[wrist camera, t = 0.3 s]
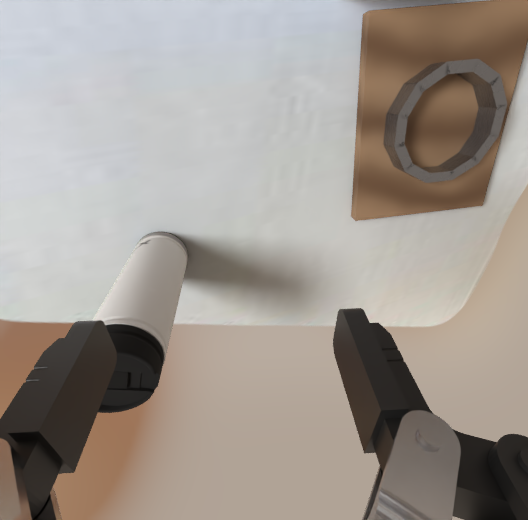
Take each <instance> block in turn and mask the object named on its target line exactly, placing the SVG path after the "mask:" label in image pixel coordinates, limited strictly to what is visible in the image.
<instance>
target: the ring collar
mask: <svg viewBox="0 0 528 520" xmlns="http://www.w3.org/2000/svg"><path fill="white" fill-rule="evenodd" d="M455 73H456V74H457V75H458V76H460V77H461V78H463V79H464V80H466V81H467V82H469V83H470V84H471V85H473V89H474V93H475V96H476V100H477V103H478V112H477V116H476V120H475V125H474V129H473V132H472V134H471V135H470V136H469V138H468V139H467V141H466V142H465V144H464V145H463V146H462V148H461V149H460V151H459V152H458V153H457V154H455V155H454V156H452V157H451V158H449V159H448V160H446V161H445V162H443V163H442V164H440V165H439V166H432V167H424V168H420V167H418V166H416V165H414V164H413V163H412V161H411V158H410V156H409V153H408V151H407V149H406V146H405V144H404V143H405V135H406V128H407V120H408V116H409V115H410V113H411V111H412V110H413V108H414V106H415V105H416V103H417V101H418V100H419V98H420V96H421V95H422V93H423V92H424V91H425V90H426V89H428V88H429V87H431V86H432V85H433V84H435V83H436V82H438V81H439V80H440V79H442V78H443V77H445V76H446V75H447V74H455ZM506 107H507V100H506V96H505V91H504V87H503V83H502V79H501V75H500V74H499V73H497V72H496V71H495V70H493V69H492V68H491V67H489V66H488V65H487V64H485V63H484V62H482V61H481V60H480V59H469V60H459V61H448V62H441V63H433V64H430V65H429V66H427V67H426V68H425V69H423V70H422V71H420V72H419V73H418V74H416V75H415V76H414V77H412V78H411V79H409V80H408V81H407V82H405V83H404V84H403V86H402V87H401V89H400V91H399V93H398V94H397V96H396V98H395V99H394V101H393V103H392V105H391V106H390V108H389V110H388V112H387V113H386V121H385V131H384V142H383V144H384V147H385V149H386V151H387V153H388V155H389V158H390V160H391V162H392V164H393V166H394V167H395V168H397V169H399V170H401V171H403V172H405V173H407V174H408V175H410V176H412V177H414V178H416V179H419V180H421V181H423V182H425V183H430V182H439V181H447V180H453V179H455V178H456V177H458V176H459V175H461V174H463V173H464V172H466V171H467V170H469V169H470V168H472V167H474V166H475V165H477V164H478V163H479V162H480V161H481V159H482V158H483V157H484V155H485V154H486V153H487V151H488V150H489V149H490V147H491V146H492V145H493V143H494V142H495V141H496V139H497V138H498V137H499V133H500V130H501V126H502V122H503V119H504V115H505V111H506Z"/></svg>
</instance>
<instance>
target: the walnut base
mask: <svg viewBox="0 0 528 520" xmlns="http://www.w3.org/2000/svg"><path fill="white" fill-rule="evenodd" d="M527 41H528V0H490V1H478V2H466V3H455V4H443V5H431V6H419V7H407V8H395V9H384V10H372V11H368V12H366V13H365V14H363V22H362V39H361V57H360V74H359V91H358V109H357V126H356V143H355V161H354V178H353V195H352V213H351V217H352V218H353V219H354V220H355V221H358V220H366V219H374V218H382V217H391V216H399V215H407V214H416V213H424V212H432V211H440V210H449V209H457V208H465V207H473V206H482V205H483V202H484V198H485V194H486V191H487V187H488V183H489V180H490V176H491V172H492V169H493V165H494V161H495V158H496V154H497V150H498V147H499V143H500V139H501V136H502V132H503V128H504V125H505V121H506V117H507V114H508V110H509V106H510V103H511V99H512V95H513V92H514V88H515V85H516V81H517V77H518V74H519V70H520V66H521V63H522V59H523V55H524V52H525V48H526V44H527ZM469 59H480V60H481V61H482V62H484V63H485V64H487V65H488V66H489V67H491V68H492V69H493V70H495V71H496V72H497V73H499V74H500V75H501V79H502V83H503V87H504V91H505V96H506V100H507V107H506V111H505V115H504V119H503V122H502V126H501V130H500V133H499V137H498V138H497V139H496V141H495V142H494V143H493V145H492V146H491V147H490V149H489V150H488V151H487V153H486V154H485V155H484V157H483V158H482V159H481V161H480V162H479V163H478V164H477V165H475V166H474V167H472V168H470V169H469V170H467V171H466V172H464V173H463V174H461V175H459V176H458V177H456V178H455V179H453V180H447V181H439V182H430V183H425V182H423V181H421V180H419V179H416V178H414V177H412V176H410V175H408V174H407V173H405V172H403V171H401V170H399V169H397V168H395V167H394V166H393V164H392V162H391V160H390V158H389V155H388V153H387V151H386V149H385V147H384V144H383V142H384V131H385V121H386V113H387V112H388V110H389V108H390V106H391V105H392V103H393V101H394V99H395V98H396V96H397V94H398V93H399V91H400V89H401V87H402V86H403V84H404V83H405V82H407V81H408V80H409V79H411V78H412V77H414V76H415V75H416V74H418V73H419V72H420V71H422V70H423V69H425V68H426V67H427V66H429V65H430V64H433V63H441V62H448V61H459V60H469ZM477 112H478V103H477V100H476V96H475V93H474V89H473V85H471V84H470V83H469V82H467V81H466V80H464V79H463V78H461V77H460V76H458V75H457V74H456V73H455V74H447V75H446V76H445V77H443V78H442V79H440V80H439V81H438V82H436V83H435V84H433V85H432V86H431V87H429V88H428V89H426V90H425V91H424V92H423V93H422V95H421V96H420V98H419V100H418V101H417V103H416V105H415V106H414V108H413V110H412V111H411V113H410V115H409V116H408V120H407V128H406V135H405V143H404V144H405V146H406V149H407V151H408V153H409V156H410V158H411V161H412V163H413V164H414V165H416V166H418V167H420V168H424V167H432V166H439V165H440V164H442V163H443V162H445V161H446V160H448V159H449V158H451V157H452V156H454V155H455V154H457V153H458V152H459V151H460V149H461V148H462V146H463V145H464V144H465V142H466V141H467V139H468V138H469V136H470V135H471V134H472V132H473V129H474V125H475V120H476V116H477Z"/></svg>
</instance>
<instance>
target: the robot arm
mask: <svg viewBox="0 0 528 520" xmlns="http://www.w3.org/2000/svg"><path fill="white" fill-rule="evenodd" d="M333 347H334V354H335V358H336V361H337V365H338V368H339V371H340V374H341V378H342V381H343V384H344V388H345V391H346V394H347V397H348V401H349V404H350V408H351V411H352V414H353V417H354V420H355V424H356V427H357V431H358V434H359V437H360V441H361V444H362V447H363V450H364V453H374V452H375V453H376V455H377V458H378V461H379V464H380V466H379V469H378V472H377V475H376V478H375V481H374V484H373V487H372V491H371V494H370V497H369V500H368V503H367V506H366V510H365V513H364V515H363V519H362V520H452V516H455V517H458V518H461V519H464V520H528V437H525V436H522V435H518V434H508V435H505V436H503V437H502V438H500V439H499V440H498V442H493V441H489V440H486V439H482V438H478V437H474V436H470V435H466V434H463V433H460V432H458V431H455V430H453V429H452V428H451V427H450V426H449V425H448V424H447V423H446V422H445V421H444V420H442V419H441V418H440V417H438V416H436V415H434V414H433V413H432V411H431V410H430V409H429V407H428V405H427V404H426V402H425V400H424V398H423V396H422V394H421V392H420V390H419V388H418V386H417V384H416V382H415V380H414V379H413V377H412V375H411V373H410V371H409V369H408V367H407V365H406V363H405V362H404V361H403V357H402V355H401V353H400V351H398V348H397V346H396V344H395V342H394V340H393V338H392V336H391V334H390V333H389V332H387V331H386V329H385V328H383V327H382V326H381V325H380V324H379V323H369V321H368V319H367V316H366V314H365V312H364V310H363V309H361V308H356V309H340V310H339V311H338V316H337V321H336V327H335V332H334V339H333ZM116 361H117V353H116V349H115V346H114V344H113V342H112V339H111V337H110V335H109V333H108V330H107V328H106V326H105V324H104V322H103V321H101V320H97V321H78V322H75V323H74V324H73V325H72V327H71V329H70V330H69V332H68V334H67V335H66V337H65V338H59V339H58V340H57V341H55V342H54V343H53V344H52V345H51V346H50V347H49V348H47V350H45V351H44V352H43V354H42V355H41V357H40V359H39V360H38V362H37V363H36V365H35V366H34V370H32V371H31V373H30V374H29V375H28V377H27V379H26V382H25V383H23V385H22V386H21V388H20V389H19V391H18V393H17V394H16V396H15V397H14V399H13V400H12V402H11V403H10V405H9V407H8V408H7V410H6V411H5V413H4V414H3V416H2V417H1V419H0V520H62V517H61V513H60V509H59V505H58V502H57V498H56V494H55V491H54V488H53V484H54V482H55V480H56V478H57V475H58V474H61V473H74V471H75V469H76V466H77V463H78V461H79V459H80V456H81V453H82V451H83V448H84V446H85V443H86V441H87V438H88V436H89V433H90V431H91V428H92V425H93V423H94V420H95V418H96V415H97V413H98V410H99V408H100V405H101V402H102V400H103V397H104V395H105V392H106V390H107V387H108V385H109V382H110V379H111V377H112V374H113V372H114V369H115V366H116Z"/></svg>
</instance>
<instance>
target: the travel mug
mask: <svg viewBox="0 0 528 520" xmlns="http://www.w3.org/2000/svg"><path fill="white" fill-rule="evenodd" d="M187 262H188V252H187V249H186V247H185V245H184V244H183V242H182V241H181V240H180V239H178V238H177V237H175V236H174V235H171V234H169V233H165V232H154V233H150V234H148V235H146V236H144V237H143V238H142V239H141V240H140V241H139V242H138V244H137V245H136V247H135V249H134V251H133V252H132V254H131V256H130V257H129V259H128V261H127V262H126V264H125V266H124V268H123V269H122V271H121V273H120V274H119V276H118V278H117V279H116V281H115V283H114V285H113V286H112V288H111V290H110V291H109V293H108V295H107V296H106V298H105V300H104V301H103V303H102V305H101V307H100V308H99V310H98V312H97V313H96V315H95V317H94V318H93V320H92V321H97V320H101V321H103V322H104V324H105V326H106V328H107V330H108V333H109V335H110V337H111V339H112V342H113V344H114V346H115V349H116V353H117V361H116V366H115V369H114V372H113V374H112V377H111V379H110V382H109V385H108V387H107V390H106V392H105V395H104V397H103V400H102V402H101V405H100V408H99V410H98V412H102V413H112V412H121V411H125V410H129V409H132V408H134V407H137V406H139V405H141V404H143V403H144V402H146V401H147V400H148V399H149V398H150V397H151V395H152V394H153V393H154V390H155V388H156V387H157V386H158V383H159V379H160V375H161V371H162V366H163V364H164V361H165V356H166V352H167V348H168V344H169V339H170V335H171V331H172V326H173V322H174V318H175V314H176V309H177V305H178V301H179V296H180V292H181V288H182V283H183V279H184V275H185V270H186V266H187Z"/></svg>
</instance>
